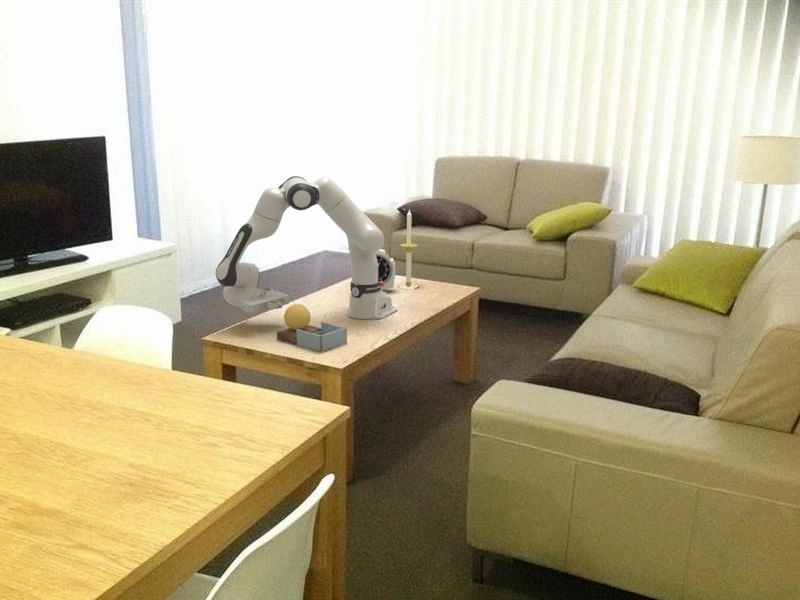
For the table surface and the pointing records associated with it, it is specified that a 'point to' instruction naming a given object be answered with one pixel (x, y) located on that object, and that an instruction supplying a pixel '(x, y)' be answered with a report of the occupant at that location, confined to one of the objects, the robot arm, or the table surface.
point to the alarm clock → (385, 269)
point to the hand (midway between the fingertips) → (279, 306)
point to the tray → (322, 337)
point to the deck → (294, 334)
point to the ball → (297, 317)
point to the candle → (408, 250)
